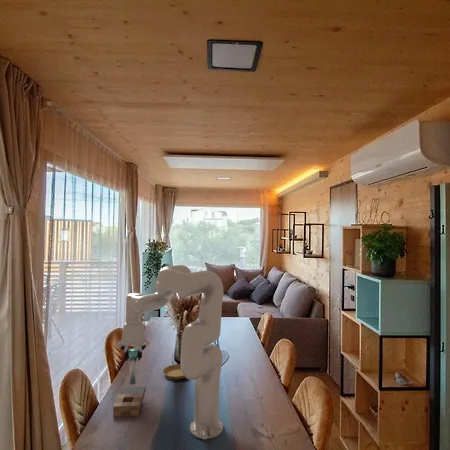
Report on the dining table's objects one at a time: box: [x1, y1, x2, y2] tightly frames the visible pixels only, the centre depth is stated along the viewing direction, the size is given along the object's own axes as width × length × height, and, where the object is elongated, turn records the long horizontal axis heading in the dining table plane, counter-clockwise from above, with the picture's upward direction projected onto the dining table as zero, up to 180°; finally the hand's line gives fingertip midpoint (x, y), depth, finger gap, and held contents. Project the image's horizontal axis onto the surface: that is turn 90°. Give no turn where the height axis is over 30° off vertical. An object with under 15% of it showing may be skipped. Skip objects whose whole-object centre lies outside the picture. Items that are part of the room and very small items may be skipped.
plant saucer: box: [162, 363, 186, 380], centre depth 169 cm, size 15×15×3 cm
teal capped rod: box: [128, 348, 139, 385], centre depth 149 cm, size 5×5×15 cm
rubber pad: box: [120, 386, 146, 399], centre depth 149 cm, size 10×10×1 cm
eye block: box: [112, 393, 143, 417], centre depth 136 cm, size 10×10×4 cm
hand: (133, 359), depth 149 cm, fingers closed on teal capped rod, 5 cm apart
